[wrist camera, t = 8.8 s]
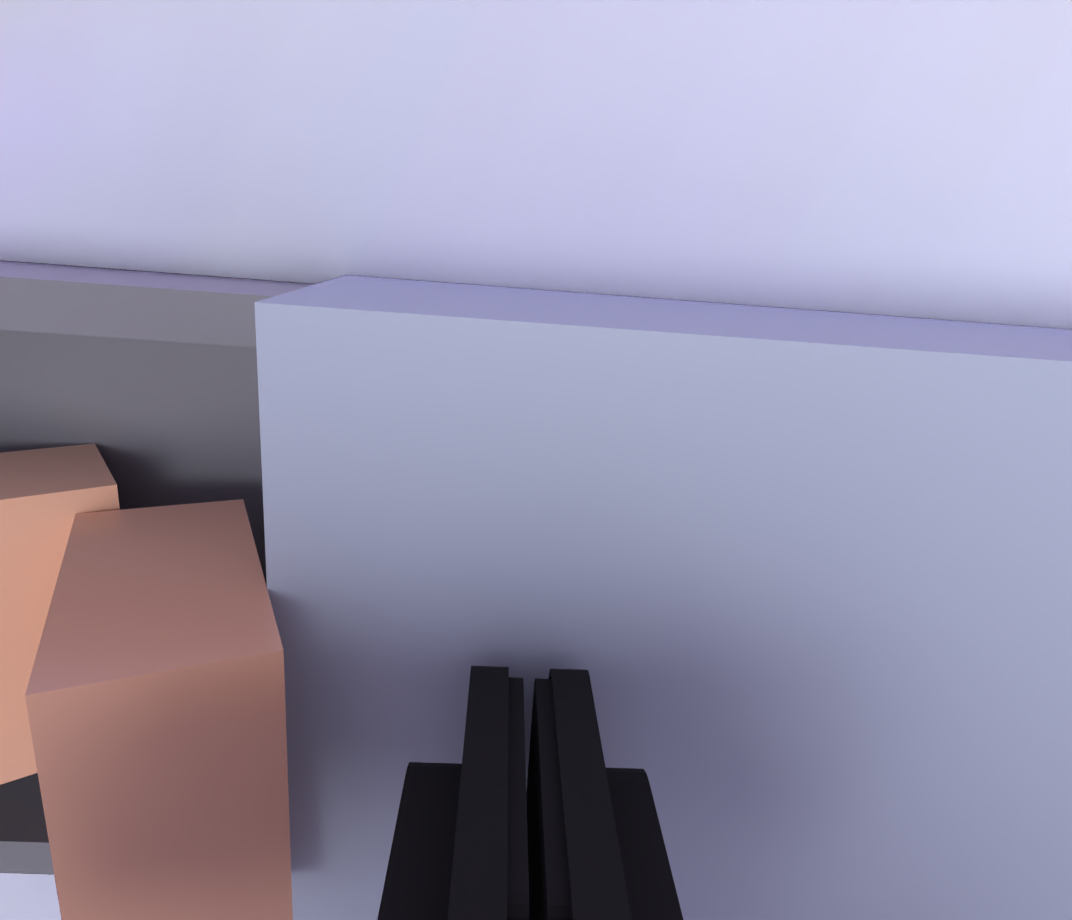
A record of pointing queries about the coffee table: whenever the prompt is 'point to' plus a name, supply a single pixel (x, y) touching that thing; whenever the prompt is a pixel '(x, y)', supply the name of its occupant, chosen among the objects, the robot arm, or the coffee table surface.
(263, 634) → the tile
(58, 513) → the tile
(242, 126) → the coffee table surface
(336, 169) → the coffee table surface
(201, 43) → the coffee table surface
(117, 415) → the tray
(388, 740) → the board
